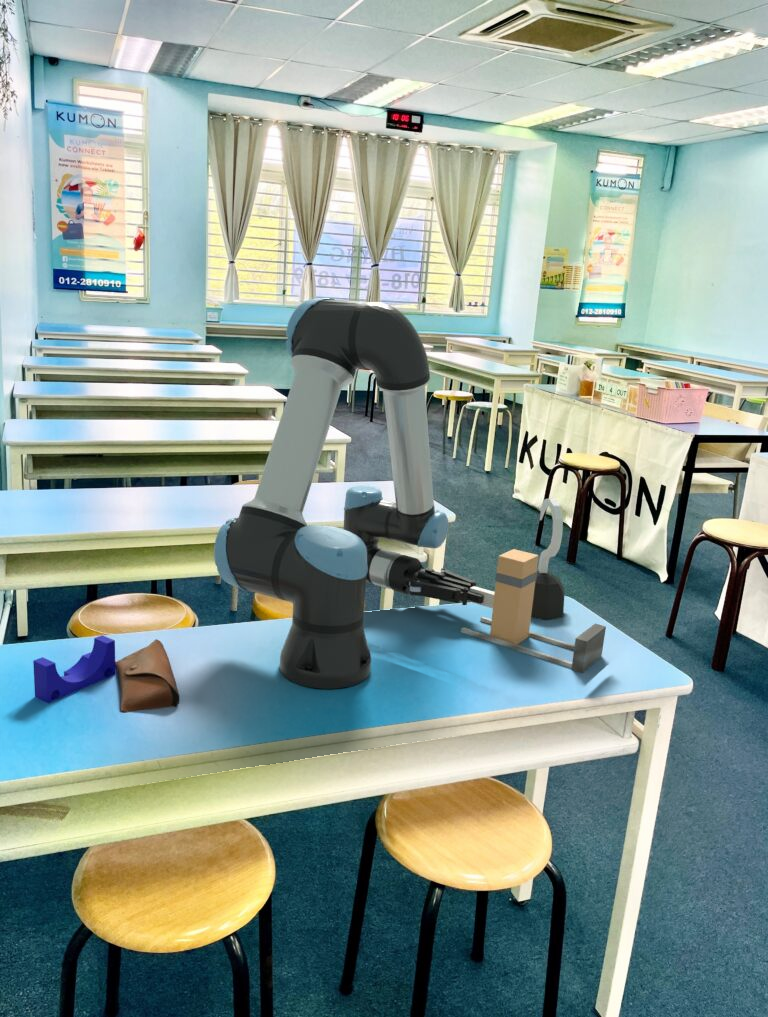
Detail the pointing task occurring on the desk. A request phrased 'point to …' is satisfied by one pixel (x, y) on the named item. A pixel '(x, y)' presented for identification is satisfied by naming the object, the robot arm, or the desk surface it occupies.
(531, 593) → the tan box with band
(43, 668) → the purple cradle bracket
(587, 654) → the track
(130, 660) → the sunglasses case
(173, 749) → the desk surface
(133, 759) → the desk surface
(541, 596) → the hook
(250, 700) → the desk surface
